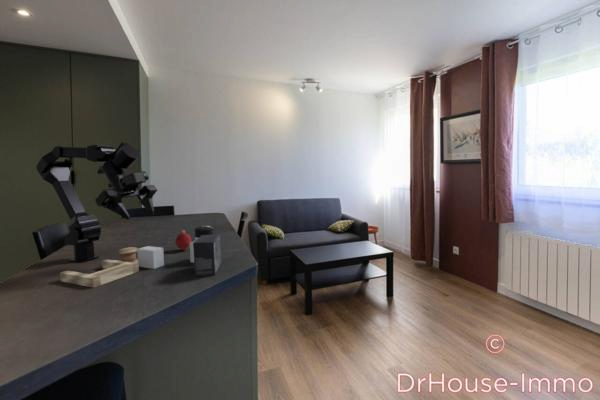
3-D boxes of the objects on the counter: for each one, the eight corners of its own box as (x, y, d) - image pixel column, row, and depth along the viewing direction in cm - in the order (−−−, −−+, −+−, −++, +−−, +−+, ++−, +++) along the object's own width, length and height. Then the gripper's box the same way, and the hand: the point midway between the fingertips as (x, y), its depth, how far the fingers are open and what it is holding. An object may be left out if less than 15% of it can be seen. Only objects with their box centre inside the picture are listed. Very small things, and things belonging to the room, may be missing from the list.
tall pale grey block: (138, 266, 97) (137, 248, 96) (148, 263, 100) (147, 246, 100) (154, 269, 94) (153, 250, 93) (164, 265, 98) (163, 247, 97)
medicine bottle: (209, 264, 98) (207, 229, 97) (190, 263, 100) (188, 228, 99) (219, 258, 105) (218, 225, 104) (201, 257, 107) (199, 224, 106)
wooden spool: (115, 265, 98) (114, 250, 97) (130, 260, 103) (129, 246, 103) (127, 267, 96) (126, 252, 95) (142, 262, 101) (141, 248, 101)
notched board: (60, 281, 84) (60, 272, 84) (108, 266, 97) (107, 259, 97) (93, 287, 79) (92, 278, 78) (139, 271, 92) (138, 263, 91)
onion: (188, 252, 113) (187, 232, 112) (173, 252, 113) (172, 232, 113) (193, 248, 119) (192, 229, 118) (179, 248, 119) (178, 229, 118)
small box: (202, 265, 97) (201, 234, 96) (222, 264, 98) (221, 233, 97) (193, 276, 87) (191, 241, 86) (215, 275, 87) (214, 241, 86)
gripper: (101, 162, 85) (128, 206, 83) (154, 162, 102) (177, 198, 101) (83, 184, 89) (109, 227, 87) (137, 180, 106) (159, 216, 105)
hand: (141, 216), depth 95 cm, fingers open, 9 cm apart
